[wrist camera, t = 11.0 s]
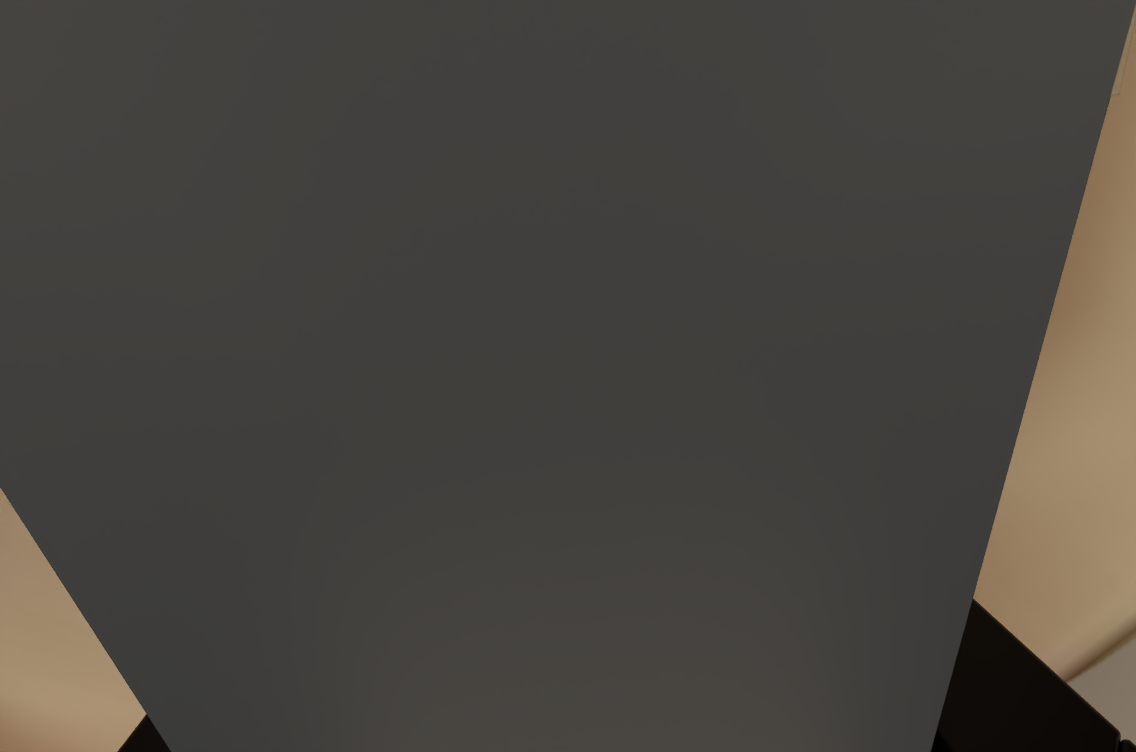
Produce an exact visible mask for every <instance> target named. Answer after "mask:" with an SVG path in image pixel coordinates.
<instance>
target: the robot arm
mask: <svg viewBox="0 0 1136 752" xmlns="http://www.w3.org/2000/svg"><path fill="white" fill-rule="evenodd" d="M1120 739H1121V735H1120V732H1119V731H1118V730H1117V729H1116V728H1115V727H1114V726H1113V725H1112V724H1111V723H1110V722H1109V721H1107V720H1106V719H1105V718H1104V717H1103V716H1102V715H1101V714H1100V713H1099V712H1098V711H1096V710H1095V709H1094V708H1093V707H1092V706H1091V705H1090V704H1089V703H1088V702H1087V701H1085V700H1084V699H1083V698H1082V697H1081V696H1080V695H1079V694H1078V693H1077V692H1075V691H1074V690H1073V689H1072V688H1071V687H1070V686H1069V685H1068V684H1067V683H1066V682H1065V681H1063V680H1062V679H1061V678H1060V677H1059V676H1058V675H1057V674H1056V673H1055V672H1054V671H1052V670H1051V669H1050V668H1049V667H1048V666H1047V665H1046V664H1045V663H1044V662H1043V661H1041V660H1040V659H1039V658H1038V657H1037V656H1036V655H1035V654H1034V653H1033V652H1032V651H1030V650H1029V649H1028V648H1027V647H1026V646H1025V645H1024V644H1023V643H1022V642H1021V641H1019V640H1018V639H1017V638H1016V637H1015V636H1014V635H1013V634H1012V633H1011V632H1010V631H1008V630H1007V629H1006V628H1005V627H1004V626H1003V625H1002V624H1001V623H1000V622H999V621H997V620H996V619H995V618H994V617H993V616H992V615H991V614H990V613H989V612H987V611H986V610H985V609H984V608H983V607H982V606H981V605H980V604H979V603H978V602H976V601H975V600H974V599H972V603H971V606H970V610H969V614H968V617H967V621H966V625H965V628H964V632H963V635H962V639H961V643H960V646H959V650H958V654H957V657H956V661H955V665H954V668H953V672H952V676H951V679H950V683H949V686H948V690H947V694H946V697H945V701H944V705H943V708H942V712H941V716H940V719H939V723H938V727H937V730H936V734H935V737H934V741H933V745H932V748H931V752H1136V746H1135V745H1134V744H1133V743H1132V742H1131V741H1130V740H1127V739H1124V740H1122V741H1121V742H1120ZM118 752H171V751H170V749H169V748H168V746H167V744H166V743H165V741H164V740H163V738H162V737H161V735H160V734H159V732H158V730H157V729H156V727H155V726H154V724H153V723H152V721H151V720H150V718H149V717H148V715H147V714H146V715H145V717H144V718H143V719H142V721H141V722H140V723H139V725H138V726H137V727H136V728H135V730H134V731H133V732H132V734H131V735H130V736H129V737H128V739H127V740H126V741H125V743H124V744H123V745H122V746H121V748H120V749H119V750H118Z"/></svg>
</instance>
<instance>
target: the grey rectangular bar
mask: <svg viewBox="0 0 1136 752" xmlns="http://www.w3.org/2000/svg"><path fill="white" fill-rule="evenodd" d="M1135 5H1136V0H0V488H1V489H2V491H3V492H4V494H5V495H6V497H7V498H8V500H9V502H10V503H11V505H12V506H13V508H14V509H15V511H16V512H17V514H18V515H19V517H20V519H21V520H22V522H23V523H24V525H25V526H26V528H27V529H28V531H29V532H30V534H31V536H32V537H33V539H34V540H35V542H36V543H37V545H38V546H39V548H40V549H41V551H42V553H43V554H44V556H45V557H46V559H47V560H48V562H49V563H50V565H51V566H52V568H53V570H54V571H55V573H56V574H57V576H58V577H59V579H60V580H61V582H62V584H63V585H64V587H65V588H66V590H67V591H68V593H69V594H70V596H71V597H72V599H73V601H74V602H75V604H76V605H77V607H78V608H79V610H80V611H81V613H82V614H83V616H84V618H85V619H86V621H87V622H88V624H89V625H90V627H91V628H92V630H93V631H94V633H95V635H96V636H97V638H98V639H99V641H100V642H101V644H102V645H103V647H104V648H105V650H106V652H107V653H108V655H109V656H110V658H111V659H112V661H113V662H114V664H115V666H116V667H117V669H118V670H119V672H120V673H121V675H122V676H123V678H124V679H125V681H126V683H127V684H128V686H129V687H130V689H131V690H132V692H133V693H134V695H135V696H136V698H137V700H138V701H139V703H140V704H141V706H142V707H143V709H144V710H145V712H146V713H147V715H148V717H149V718H150V720H151V721H152V723H153V724H154V726H155V727H156V729H157V730H158V732H159V734H160V735H161V737H162V738H163V740H164V741H165V743H166V744H167V746H168V748H169V749H170V751H171V752H931V748H932V745H933V741H934V737H935V734H936V730H937V727H938V723H939V719H940V716H941V712H942V708H943V705H944V701H945V697H946V694H947V690H948V686H949V683H950V679H951V676H952V672H953V668H954V665H955V661H956V657H957V654H958V650H959V646H960V643H961V639H962V635H963V632H964V628H965V625H966V621H967V617H968V614H969V610H970V606H971V603H972V599H973V595H974V592H975V588H976V585H977V581H978V577H979V574H980V570H981V566H982V563H983V559H984V555H985V552H986V548H987V544H988V541H989V537H990V534H991V530H992V526H993V523H994V519H995V515H996V512H997V508H998V504H999V501H1000V497H1001V493H1002V490H1003V486H1004V483H1005V479H1006V475H1007V472H1008V468H1009V464H1010V461H1011V457H1012V453H1013V450H1014V446H1015V442H1016V439H1017V435H1018V432H1019V428H1020V424H1021V421H1022V417H1023V413H1024V410H1025V406H1026V402H1027V399H1028V395H1029V392H1030V388H1031V384H1032V381H1033V377H1034V373H1035V370H1036V366H1037V362H1038V359H1039V355H1040V351H1041V348H1042V344H1043V341H1044V337H1045V333H1046V330H1047V326H1048V322H1049V319H1050V315H1051V311H1052V308H1053V304H1054V300H1055V297H1056V293H1057V290H1058V286H1059V282H1060V279H1061V275H1062V271H1063V268H1064V264H1065V260H1066V257H1067V253H1068V249H1069V246H1070V242H1071V239H1072V235H1073V231H1074V228H1075V224H1076V220H1077V217H1078V213H1079V209H1080V206H1081V202H1082V199H1083V195H1084V191H1085V188H1086V184H1087V180H1088V177H1089V173H1090V169H1091V166H1092V162H1093V158H1094V155H1095V151H1096V148H1097V144H1098V140H1099V137H1100V133H1101V129H1102V126H1103V122H1104V118H1105V115H1106V111H1107V107H1108V104H1109V100H1110V97H1111V93H1112V89H1113V86H1114V82H1115V78H1116V75H1117V71H1118V67H1119V64H1120V60H1121V56H1122V53H1123V49H1124V46H1125V42H1126V38H1127V35H1128V31H1129V27H1130V24H1131V20H1132V16H1133V13H1134V9H1135Z"/></svg>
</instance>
